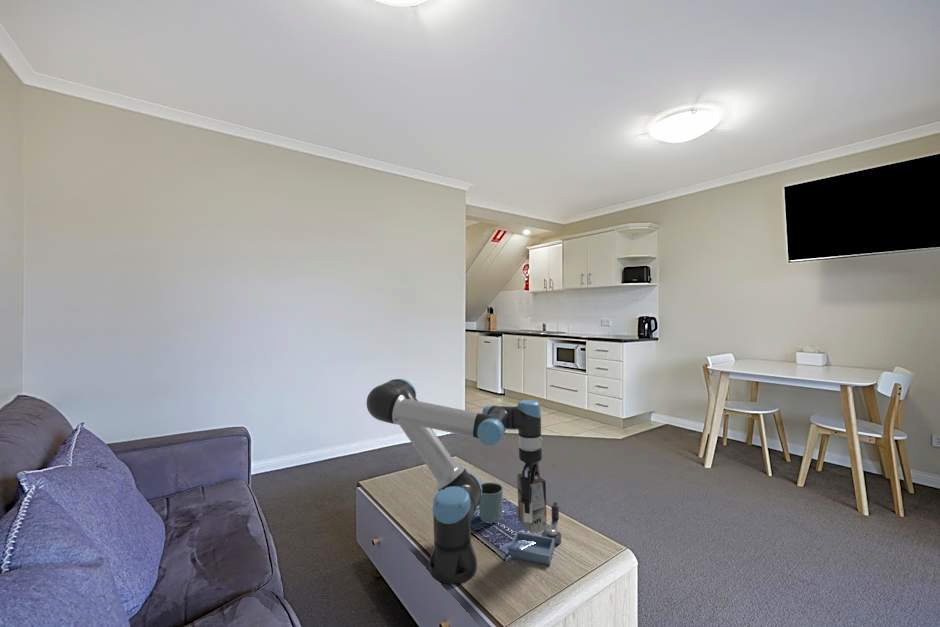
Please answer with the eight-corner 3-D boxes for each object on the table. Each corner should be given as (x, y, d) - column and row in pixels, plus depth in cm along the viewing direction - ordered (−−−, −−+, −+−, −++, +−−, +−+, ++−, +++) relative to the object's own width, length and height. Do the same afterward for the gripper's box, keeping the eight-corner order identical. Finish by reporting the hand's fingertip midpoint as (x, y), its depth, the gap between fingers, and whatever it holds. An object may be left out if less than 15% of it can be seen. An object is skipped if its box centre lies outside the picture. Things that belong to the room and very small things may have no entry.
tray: (549, 565, 126) (549, 556, 126) (509, 557, 131) (509, 548, 131) (554, 547, 136) (554, 538, 136) (516, 540, 140) (516, 531, 140)
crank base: (559, 547, 136) (559, 541, 136) (517, 539, 141) (517, 533, 141) (562, 536, 142) (562, 531, 142) (521, 529, 147) (521, 524, 147)
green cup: (508, 520, 153) (507, 489, 153) (485, 528, 148) (485, 496, 148) (494, 509, 162) (493, 480, 162) (472, 516, 157) (472, 485, 157)
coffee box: (548, 529, 130) (546, 480, 130) (530, 534, 128) (529, 484, 127) (533, 516, 138) (532, 470, 138) (517, 520, 136) (516, 473, 136)
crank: (556, 537, 137) (556, 519, 137) (545, 535, 139) (544, 517, 139) (561, 520, 148) (561, 503, 148) (550, 518, 150) (550, 501, 150)
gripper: (534, 461, 121) (536, 533, 121) (547, 437, 142) (549, 498, 142) (510, 458, 123) (512, 529, 124) (526, 435, 145) (528, 495, 145)
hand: (531, 513), depth 133 cm, fingers closed on coffee box, 11 cm apart
